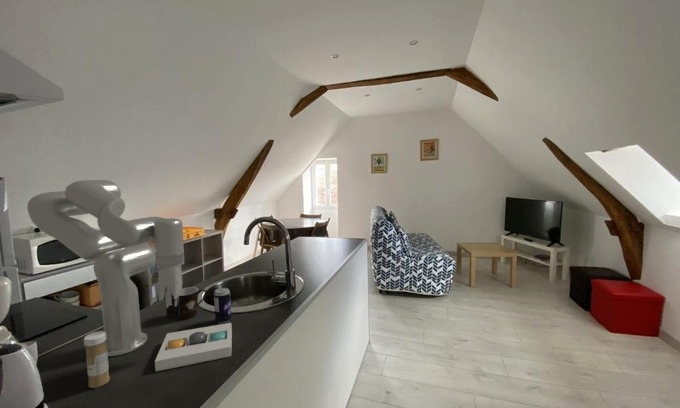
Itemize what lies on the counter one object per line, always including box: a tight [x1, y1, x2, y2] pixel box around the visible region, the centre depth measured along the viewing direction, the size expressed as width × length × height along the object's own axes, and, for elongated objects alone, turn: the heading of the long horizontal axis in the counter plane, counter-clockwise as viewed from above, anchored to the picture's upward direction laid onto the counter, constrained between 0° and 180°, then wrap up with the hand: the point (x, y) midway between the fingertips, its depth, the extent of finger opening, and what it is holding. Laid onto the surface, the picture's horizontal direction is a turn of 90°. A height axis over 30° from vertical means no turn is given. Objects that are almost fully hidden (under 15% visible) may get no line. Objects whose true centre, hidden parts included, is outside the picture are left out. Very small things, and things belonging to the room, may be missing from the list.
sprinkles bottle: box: [83, 330, 111, 389], centre depth 79 cm, size 5×5×13 cm
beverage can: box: [213, 287, 232, 325], centre depth 112 cm, size 6×6×12 cm
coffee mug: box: [178, 286, 208, 320], centre depth 118 cm, size 12×9×10 cm
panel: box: [154, 322, 233, 372], centre depth 94 cm, size 20×16×3 cm
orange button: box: [168, 339, 185, 350], centre depth 92 cm, size 4×4×2 cm
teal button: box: [210, 332, 225, 342], centre depth 96 cm, size 4×4×2 cm
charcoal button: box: [189, 332, 205, 346], centre depth 94 cm, size 4×4×2 cm
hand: (173, 317), depth 92 cm, fingers closed
